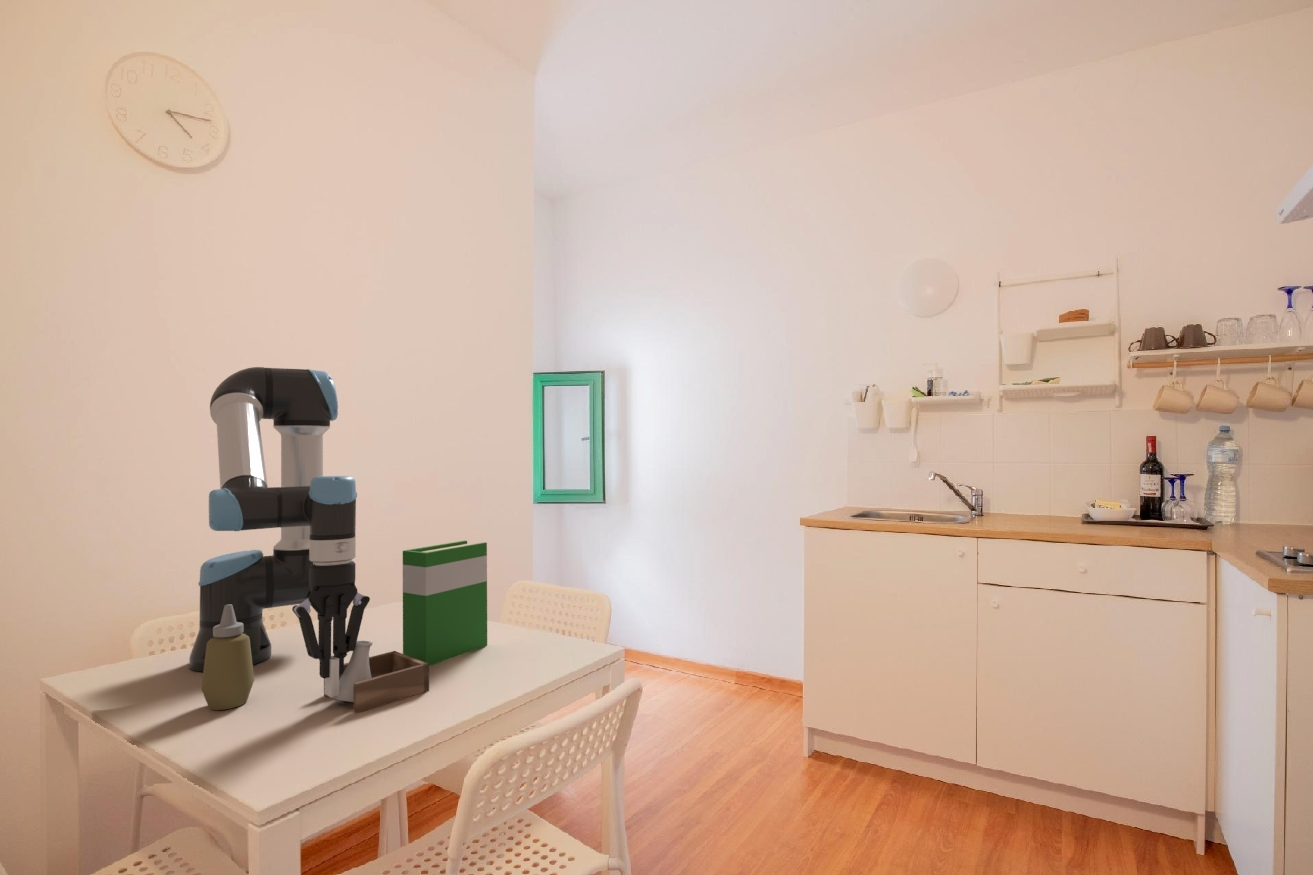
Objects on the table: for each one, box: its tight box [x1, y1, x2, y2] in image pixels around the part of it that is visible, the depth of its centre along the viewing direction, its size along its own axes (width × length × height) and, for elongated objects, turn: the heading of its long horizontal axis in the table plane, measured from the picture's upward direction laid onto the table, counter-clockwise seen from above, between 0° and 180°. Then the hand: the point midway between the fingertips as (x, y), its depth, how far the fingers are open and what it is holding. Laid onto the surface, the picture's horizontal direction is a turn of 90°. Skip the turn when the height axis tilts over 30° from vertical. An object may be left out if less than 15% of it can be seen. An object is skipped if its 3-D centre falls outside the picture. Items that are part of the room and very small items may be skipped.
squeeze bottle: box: [200, 604, 255, 711], centre depth 120 cm, size 8×8×18 cm
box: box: [323, 650, 430, 714], centre depth 125 cm, size 13×14×5 cm
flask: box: [331, 639, 374, 703], centre depth 122 cm, size 7×7×10 cm
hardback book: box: [402, 540, 488, 667], centre depth 150 cm, size 18×7×24 cm, turn 149°
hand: (331, 694), depth 118 cm, fingers closed
